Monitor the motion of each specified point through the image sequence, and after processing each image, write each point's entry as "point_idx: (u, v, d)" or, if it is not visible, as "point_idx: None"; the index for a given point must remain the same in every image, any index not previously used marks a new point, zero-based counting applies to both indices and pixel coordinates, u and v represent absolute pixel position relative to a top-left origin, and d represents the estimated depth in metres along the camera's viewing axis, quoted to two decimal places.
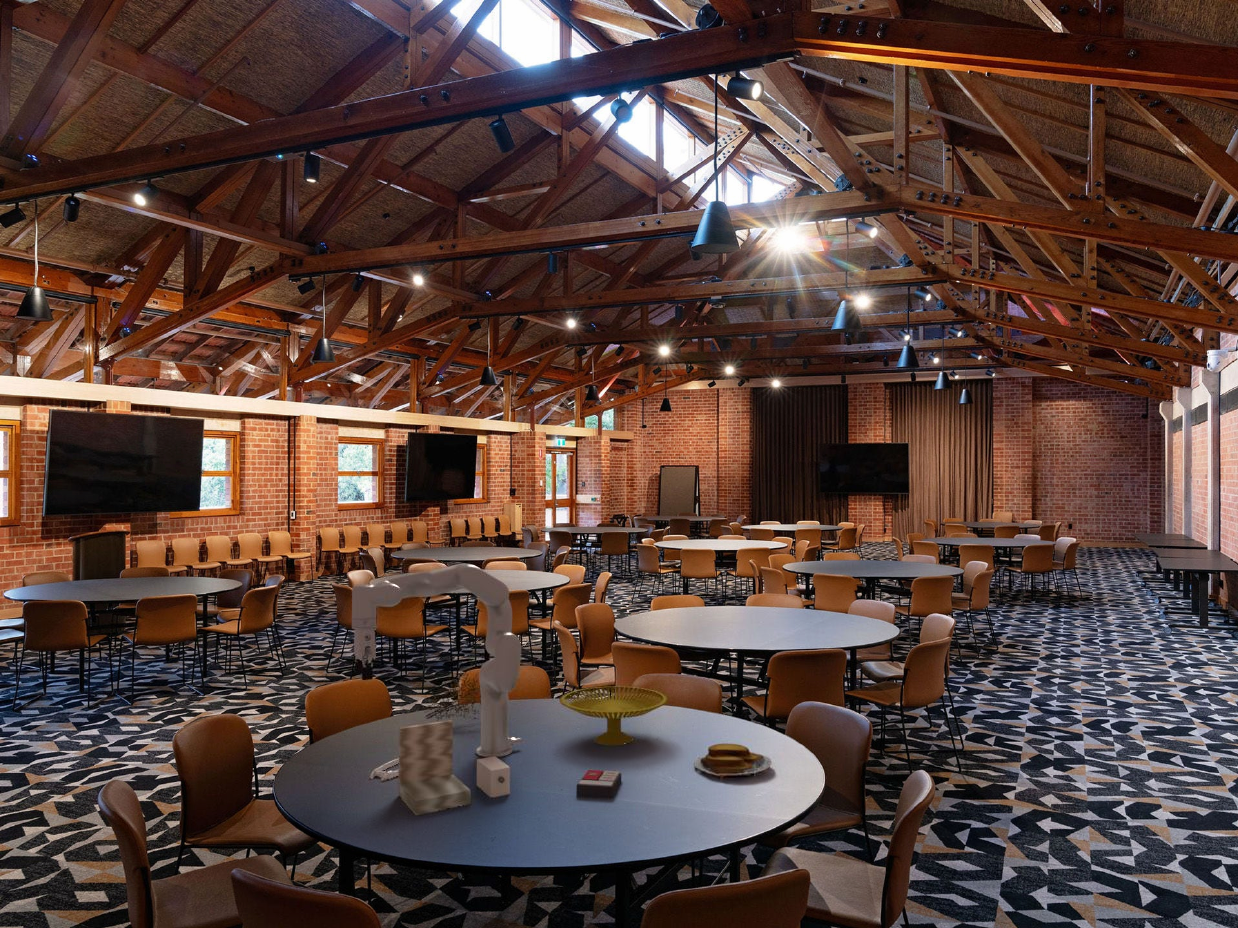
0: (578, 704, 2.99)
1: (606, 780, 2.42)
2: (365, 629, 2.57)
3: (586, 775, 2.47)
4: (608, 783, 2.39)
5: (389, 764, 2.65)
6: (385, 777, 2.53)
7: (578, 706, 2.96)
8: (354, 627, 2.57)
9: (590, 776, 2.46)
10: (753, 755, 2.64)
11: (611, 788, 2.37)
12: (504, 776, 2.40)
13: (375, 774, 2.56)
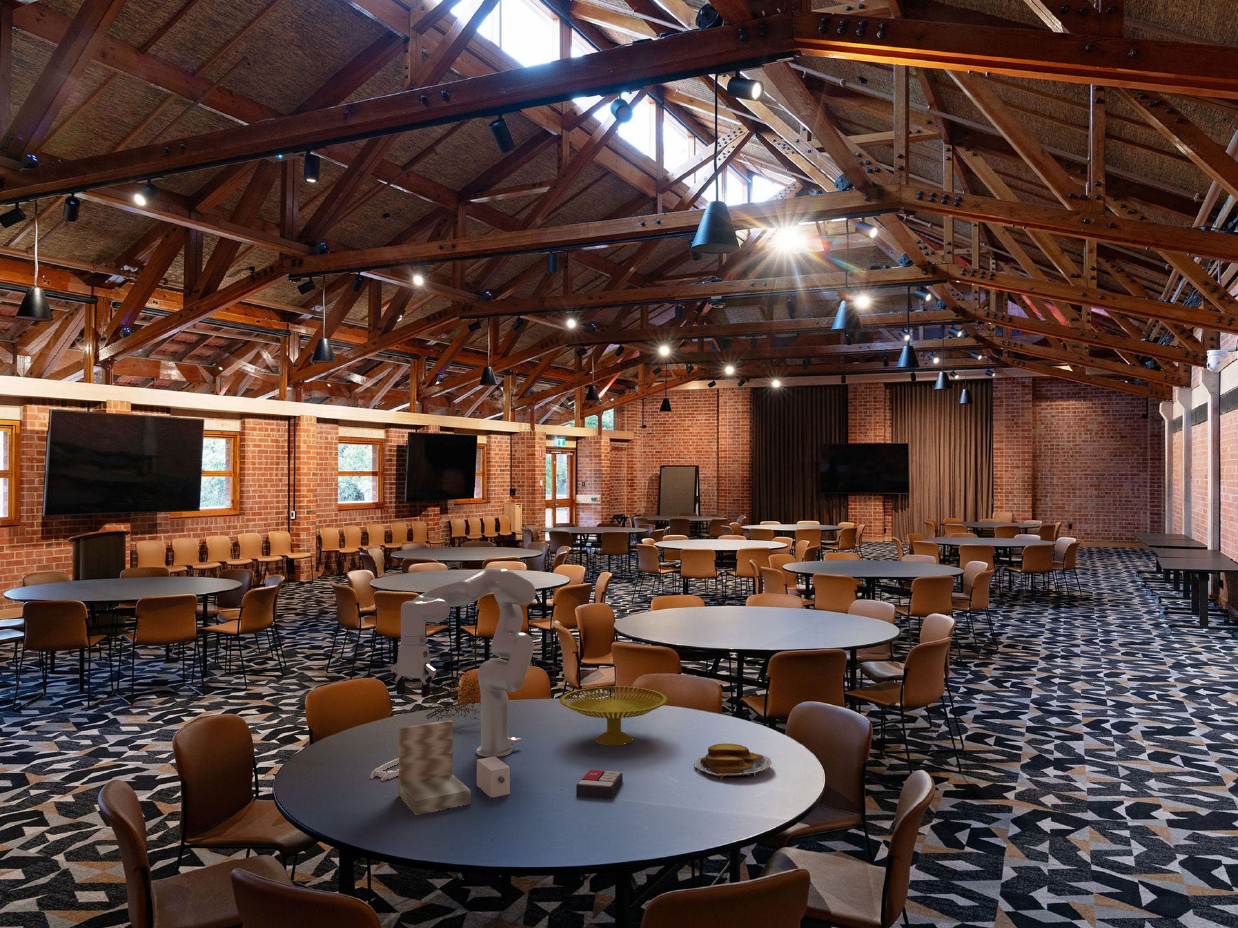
0: (578, 704, 2.99)
1: (606, 780, 2.42)
2: (422, 646, 2.52)
3: (587, 775, 2.47)
4: (608, 783, 2.39)
5: (389, 764, 2.65)
6: (385, 777, 2.53)
7: (578, 706, 2.96)
8: (410, 645, 2.51)
9: (591, 776, 2.45)
10: (753, 755, 2.64)
11: (611, 788, 2.37)
12: (504, 776, 2.40)
13: (375, 774, 2.56)
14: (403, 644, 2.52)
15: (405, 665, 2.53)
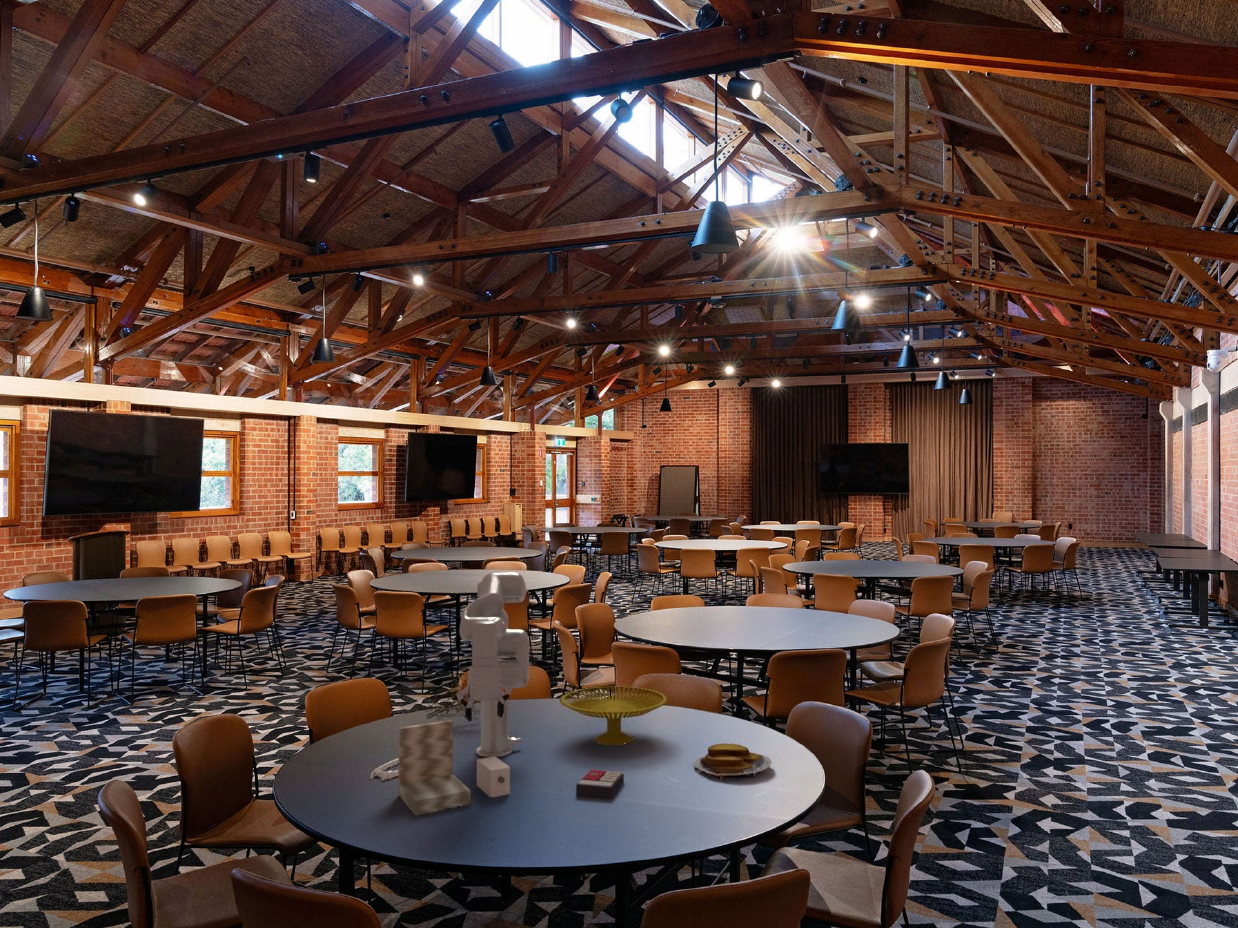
0: (578, 704, 2.99)
1: (606, 781, 2.41)
2: (498, 665, 2.48)
3: (587, 775, 2.47)
4: (608, 784, 2.39)
5: (389, 764, 2.65)
6: (385, 777, 2.53)
7: (578, 706, 2.96)
8: (493, 666, 2.45)
9: (591, 776, 2.45)
10: (753, 755, 2.64)
11: (610, 789, 2.36)
12: (504, 776, 2.40)
13: (375, 774, 2.56)
14: (485, 666, 2.43)
15: (483, 688, 2.44)
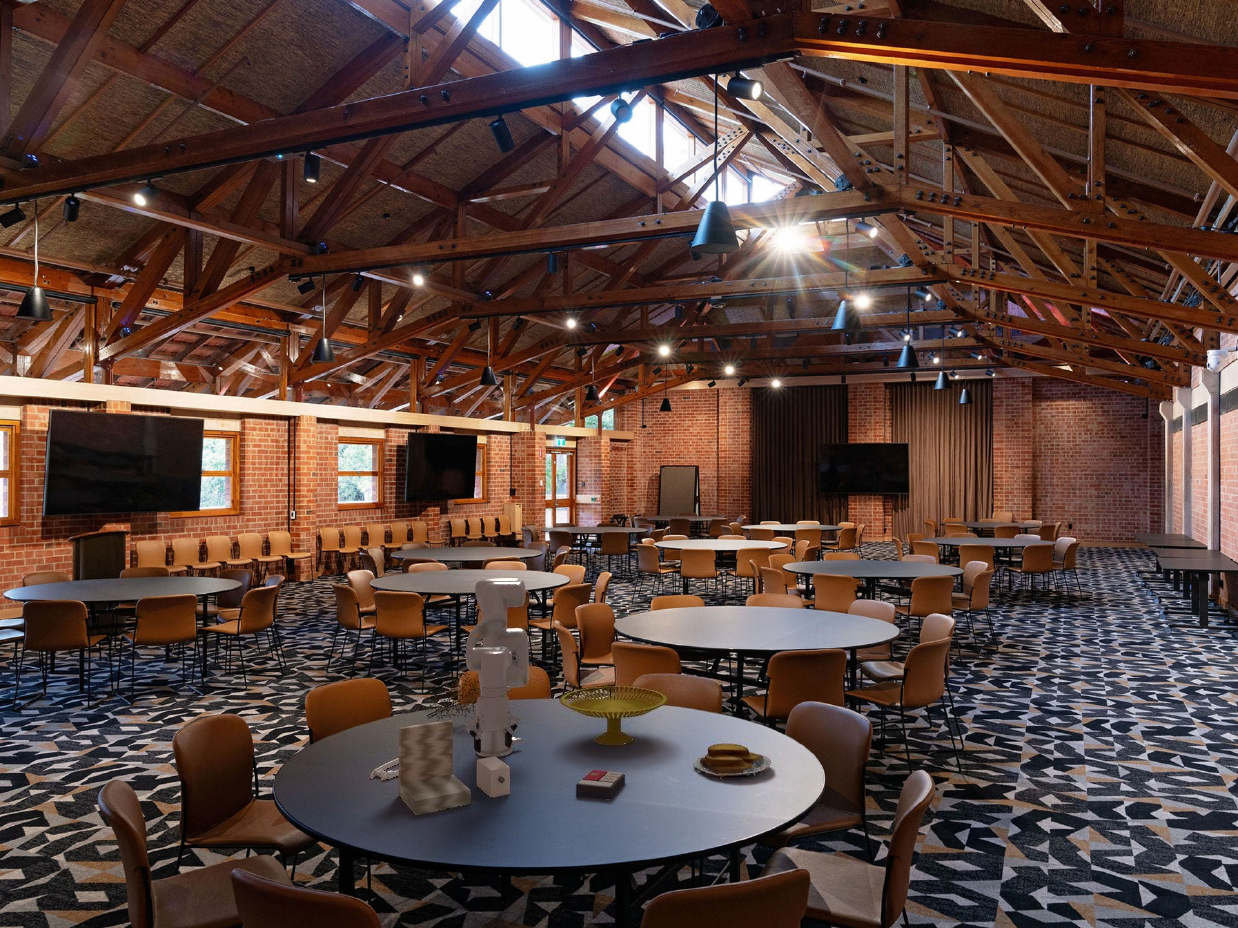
0: (578, 704, 2.99)
1: (606, 781, 2.41)
2: (506, 695, 2.47)
3: (588, 775, 2.47)
4: (607, 784, 2.38)
5: (390, 764, 2.65)
6: (385, 777, 2.53)
7: (578, 706, 2.96)
8: (502, 696, 2.44)
9: (592, 776, 2.45)
10: (752, 755, 2.64)
11: (609, 789, 2.36)
12: (504, 776, 2.40)
13: (375, 774, 2.57)
14: (495, 696, 2.42)
15: (492, 718, 2.43)
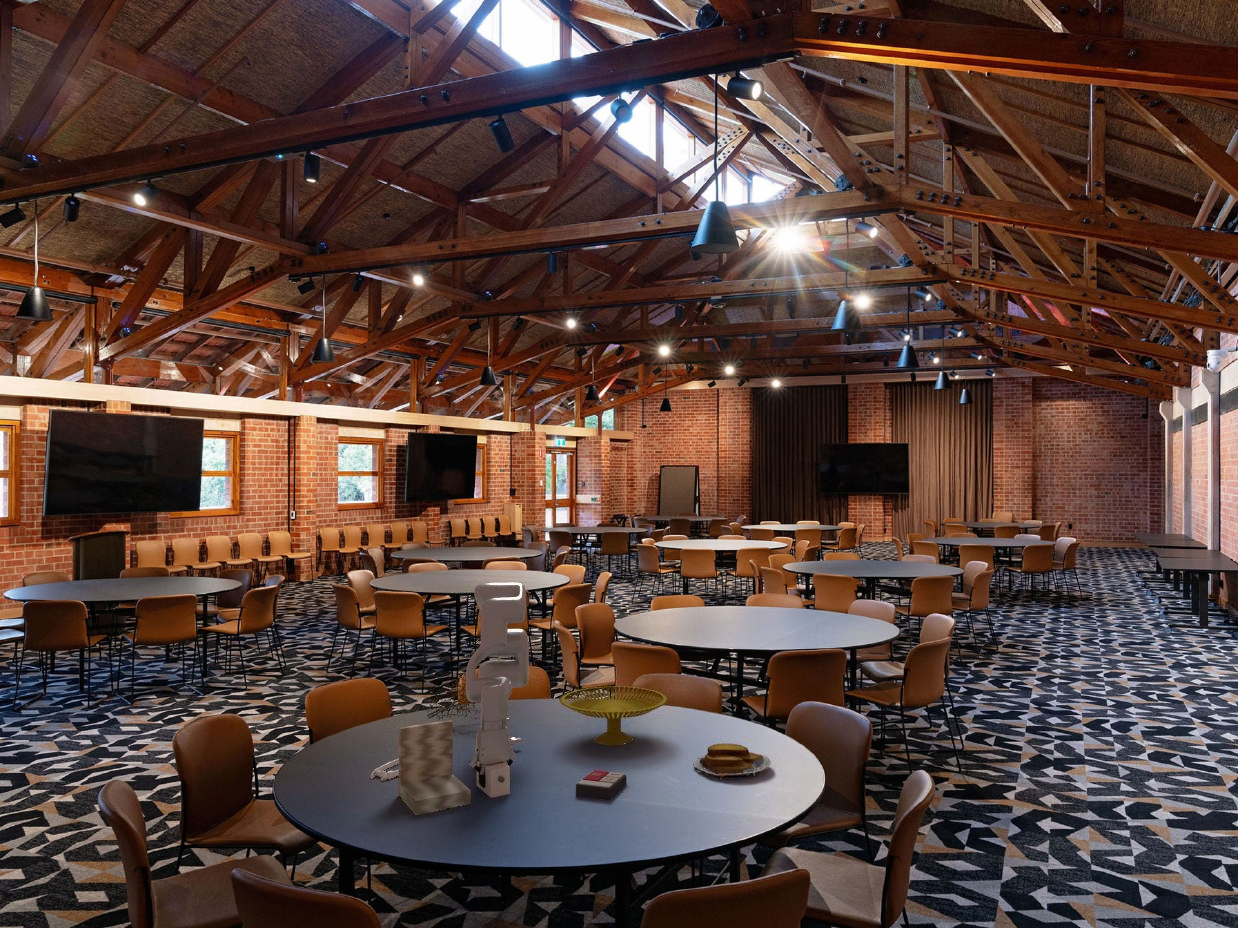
0: (578, 704, 2.99)
1: (606, 781, 2.41)
2: (506, 727, 2.47)
3: (589, 775, 2.46)
4: (607, 784, 2.38)
5: (390, 764, 2.65)
6: (385, 777, 2.53)
7: (578, 706, 2.96)
8: (502, 729, 2.43)
9: (592, 776, 2.45)
10: (752, 755, 2.64)
11: (609, 790, 2.36)
12: (504, 776, 2.40)
13: (375, 774, 2.57)
14: (494, 729, 2.42)
15: (492, 751, 2.43)
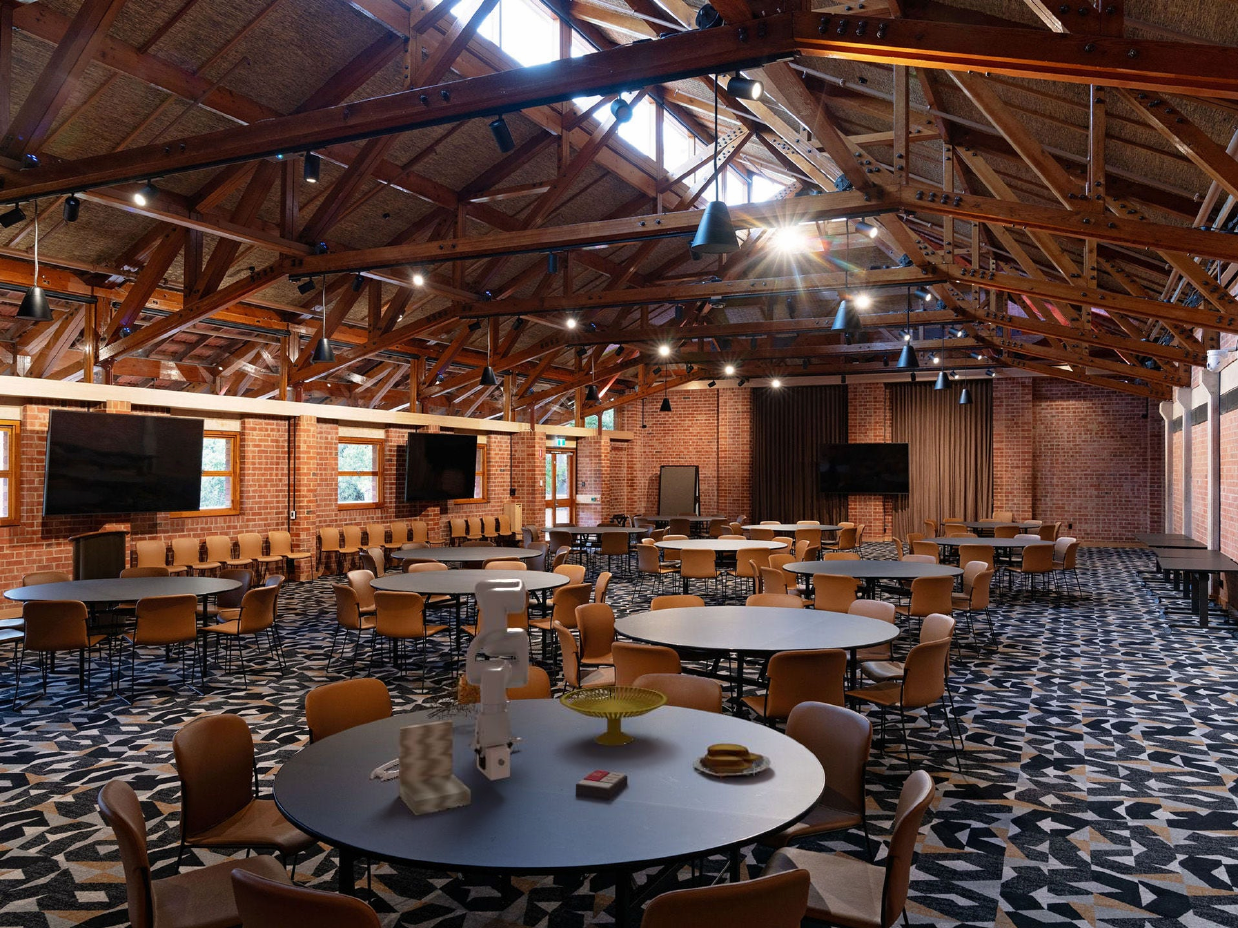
0: (578, 704, 2.99)
1: (606, 782, 2.41)
2: (506, 710, 2.48)
3: (590, 775, 2.46)
4: (607, 785, 2.38)
5: (390, 764, 2.65)
6: (385, 777, 2.53)
7: (578, 706, 2.96)
8: (502, 712, 2.44)
9: (593, 776, 2.45)
10: (752, 755, 2.64)
11: (608, 790, 2.35)
12: (504, 758, 2.41)
13: (375, 774, 2.57)
14: (495, 713, 2.42)
15: (492, 734, 2.43)
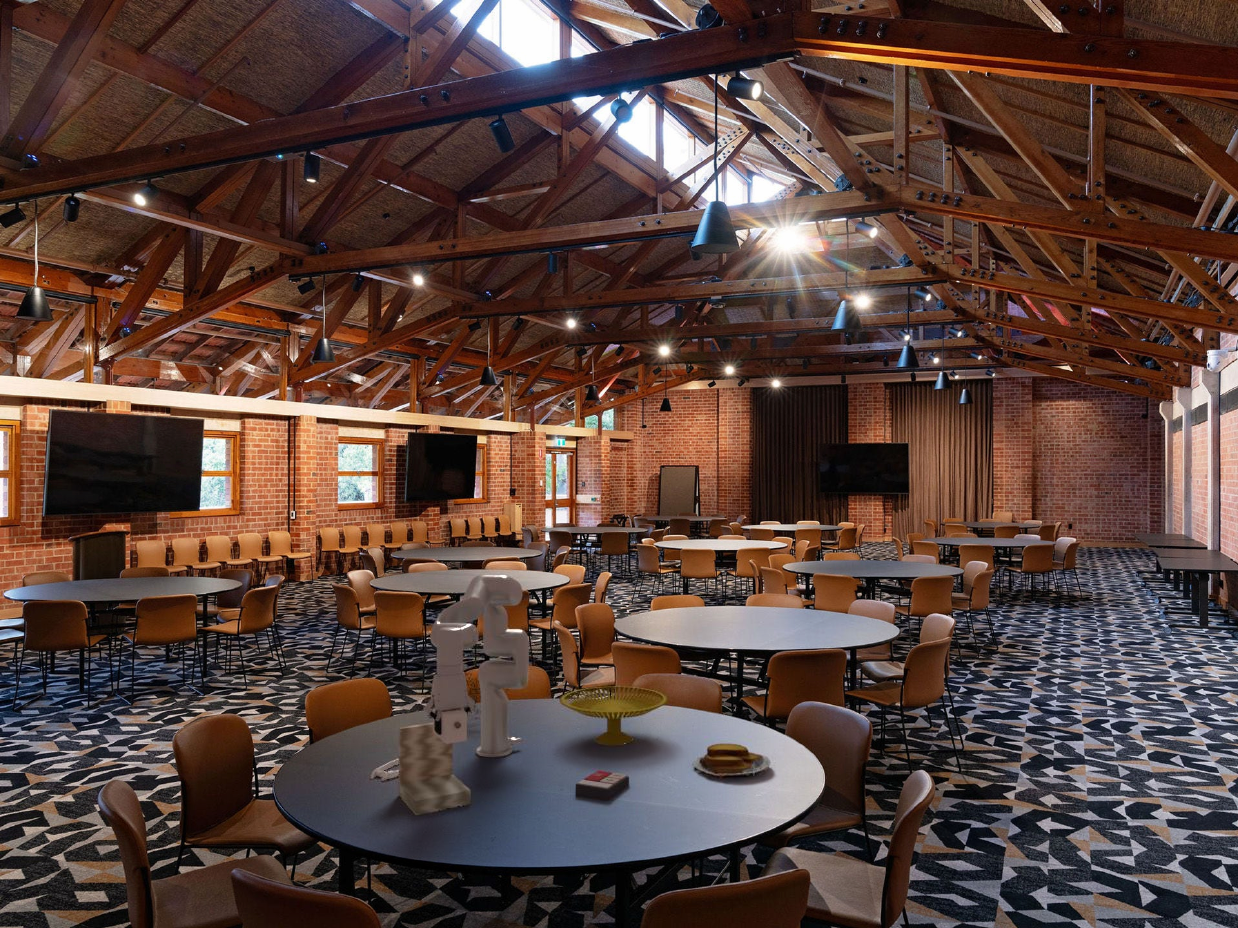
0: (578, 704, 2.99)
1: (606, 782, 2.40)
2: (463, 673, 2.39)
3: (591, 775, 2.46)
4: (606, 785, 2.37)
5: (390, 764, 2.65)
6: (385, 777, 2.53)
7: (578, 706, 2.96)
8: (458, 674, 2.36)
9: (594, 777, 2.45)
10: (752, 755, 2.65)
11: (607, 790, 2.35)
12: (461, 722, 2.33)
13: (376, 774, 2.56)
14: (451, 674, 2.34)
15: (449, 697, 2.35)
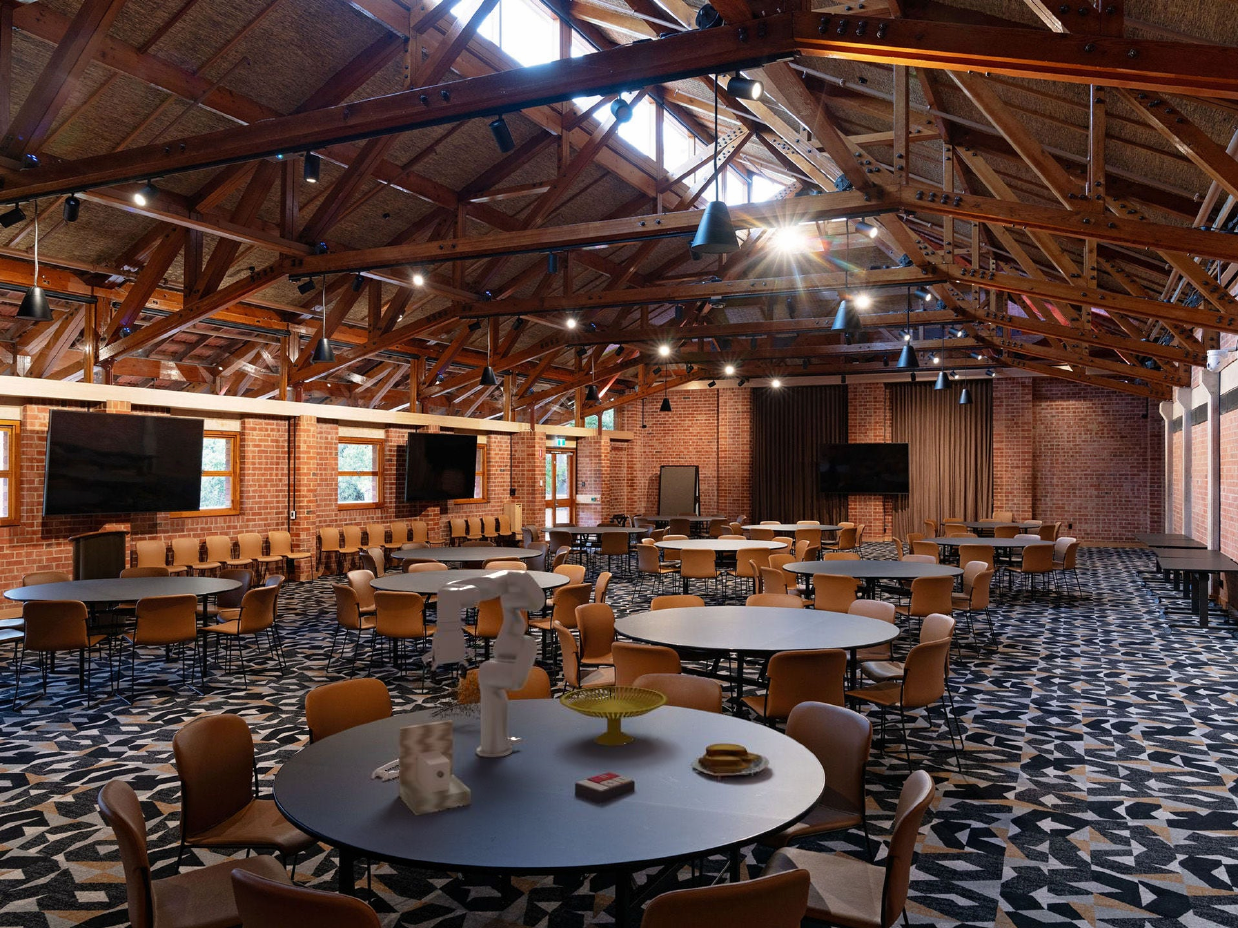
0: (578, 704, 2.99)
1: (605, 784, 2.38)
2: (461, 630, 2.60)
3: (596, 776, 2.45)
4: (601, 787, 2.36)
5: (392, 764, 2.65)
6: (386, 777, 2.53)
7: (578, 706, 2.96)
8: (457, 630, 2.56)
9: (598, 778, 2.44)
10: (751, 755, 2.65)
11: (600, 793, 2.33)
12: (444, 770, 2.33)
13: (377, 774, 2.57)
14: (450, 630, 2.55)
15: (448, 651, 2.55)
